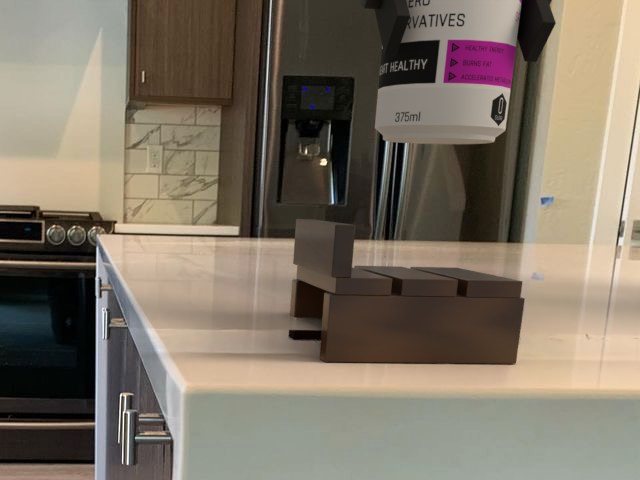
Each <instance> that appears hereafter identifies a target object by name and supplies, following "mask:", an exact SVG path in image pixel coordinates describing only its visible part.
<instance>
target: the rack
mask: <svg viewBox="0 0 640 480" xmlns="http://www.w3.org/2000/svg"><path fill="white" fill-rule="evenodd" d="M355 235H356V224H352V223H345V222H344V223H343V222H337V221H336V222H335V221H329V220H320V219H312V218H296V220H295V231H294V245H293V259H292V264H293V265H295V266H296V278H293V279H292V280H291V291H290V292H291V293H290V304H289V305H290V306H289V315H290V316H291V317H292V318H315V319H317V318H318V319H319V318H320V319H321V329H288V338H289V339H291V340H293V341H320V344H319V359H320V360H322V361H324V362H325V363H381V364H382V363H385V364H386V363H387V364H389V363H391V364H393V363H395V364H396V363H397V364H481V365H482V364H483V365H484V364H486V365H488V364H489V365H491V364H492V365H495V364H496V365H515V364H517V358H518V351H519V344H520V336H521V329H522V322H523V316H524V307H525V300H526V299H525V298H524V297H521V296H522V295H521V294H522V289H523V280H519V279H514V278H509V277H505V276H501V275H500V276H499V275H495V274H490V273H485V272H480V271H475V270H471V269H465V268H460V267H448V266H447V267H446V266H445V267H442V266H441V267H439V266H437V267H436V266H410V268H409V267H406V266H394V265H393V266H392V265H390V266H389V265H354V266H353V262H354V261H353V258H354V249H355V248H354V247H355Z"/></svg>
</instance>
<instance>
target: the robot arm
mask: <svg viewBox="0 0 640 480" xmlns="http://www.w3.org/2000/svg"><path fill="white" fill-rule="evenodd" d="M552 1H553V0H522V4H521V12H520V20H519V28H518V36H517V43H518V46H519V49H520V51H521V54H522V57H523V59H524V60H523V61H524V62H525V63H526V62H528V63H529V62H530V63H537V62H538V60H539V58H540V56H541V54H542V52H543V50H544V48H545V46H546V44H547V41H548V40H549V38H550V36H551V34H552V32H553V31H554V28H555V26H556V23H557V22H556V19H555V17H554V14H553V11H552V7H551V3H552ZM359 4H360V5H361V7H362V8H363V9H366V10H367V9H368V10H369V9H370V10H374V14H375V18H376V19H375V20H376V25H377V28H378V33H379V38H380V41H381V48H382V47H383V51H384V55H388V56H396V55H397V53H398V50H399V47H400V44H401V41H402V38H403V35H404V32H405V30H406V27H407V24H408V21H409V18H410V14H409V10H408V5H407V1H406V0H359Z"/></svg>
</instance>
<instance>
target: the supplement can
mask: <svg viewBox="0 0 640 480" xmlns="http://www.w3.org/2000/svg"><path fill="white" fill-rule="evenodd" d="M406 1H407V5H408V10H409V14H410V18H409V21H408V24H407V27H406V30H405V32H404V35H403V38H402V41H401V44H400V47H399V50H398V53H397V55H396V56H388V55H384V51H383V47H382V46H381V53H380V64H379V76H378V85H377V86H378V87H377V98H376V110H375V119H374V120H375V122H374V123H375V124H374V129H375V130H376V131H378V133H379V134H381V135H382V140H383V141H385V142H388V143H389V142H390V143H401V144H416V145H417V144H421V145H480V144H481V145H484V144H492V143H495V141H496V138H497V137H499V136H500V135H501V134H503V133H504V132H506V129H507V121H508V113H509V106H510V98H511V89H512V83H513V82H512V81H513V74H514V66H515V59H516V52H517V51H516V50H517V43H518V39H517V36H518V28H519V20H520V12H521V4H522V0H406Z"/></svg>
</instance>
